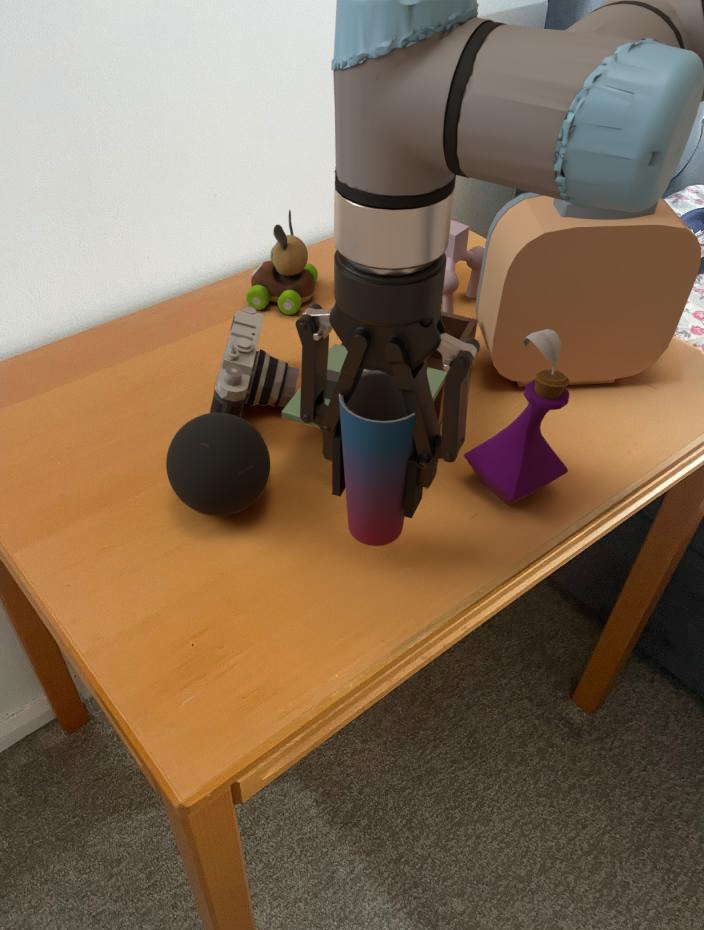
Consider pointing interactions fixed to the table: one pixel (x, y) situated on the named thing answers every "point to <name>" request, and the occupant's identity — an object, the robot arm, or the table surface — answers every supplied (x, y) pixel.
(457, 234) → the pink legged piece
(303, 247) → the toy car
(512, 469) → the perfume bottle
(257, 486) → the speaker
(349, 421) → the cup
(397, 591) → the table surface
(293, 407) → the sliding lid
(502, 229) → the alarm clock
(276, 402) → the camera
